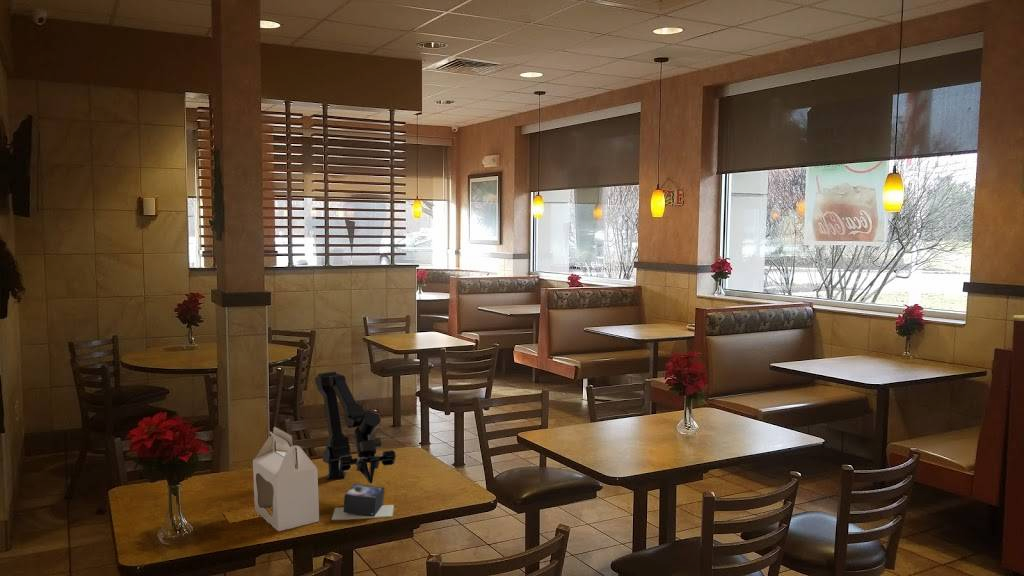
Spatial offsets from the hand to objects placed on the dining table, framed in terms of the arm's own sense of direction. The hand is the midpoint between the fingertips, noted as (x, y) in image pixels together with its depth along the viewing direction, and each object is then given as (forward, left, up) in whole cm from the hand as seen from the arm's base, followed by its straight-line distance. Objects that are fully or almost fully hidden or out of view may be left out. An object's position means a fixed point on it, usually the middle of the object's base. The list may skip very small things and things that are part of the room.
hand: (371, 482), depth 254 cm
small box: (+1, -1, -3) cm, 3 cm away
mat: (+8, -2, -7) cm, 11 cm away
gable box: (+7, -27, -8) cm, 29 cm away
